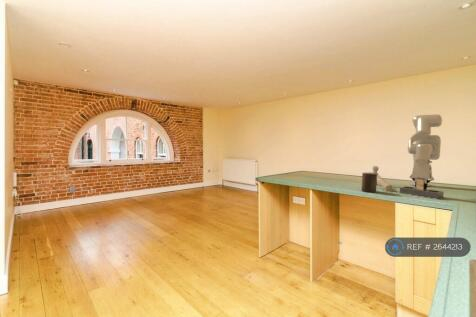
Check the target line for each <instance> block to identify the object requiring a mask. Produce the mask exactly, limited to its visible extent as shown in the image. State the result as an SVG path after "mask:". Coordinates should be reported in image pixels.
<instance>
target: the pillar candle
mask: <svg viewBox="0 0 476 317" xmlns="http://www.w3.org/2000/svg"><path fill="white" fill-rule="evenodd" d="M377 186H378V182H377V174H376V173H372V172H367V171H366V172H362V174H361V191H362V192H364V193H372V194H373V193H377Z"/></svg>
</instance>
